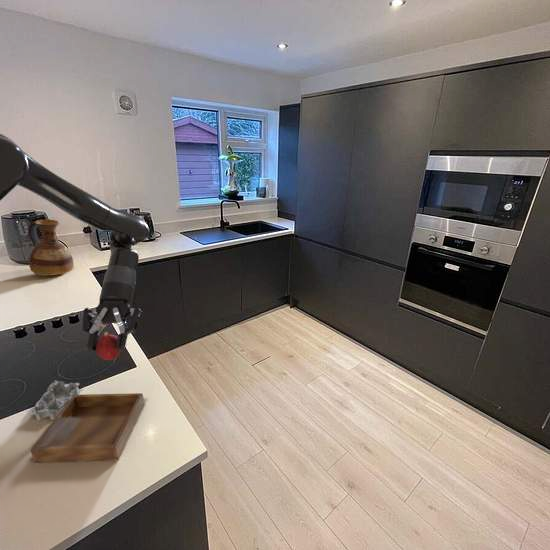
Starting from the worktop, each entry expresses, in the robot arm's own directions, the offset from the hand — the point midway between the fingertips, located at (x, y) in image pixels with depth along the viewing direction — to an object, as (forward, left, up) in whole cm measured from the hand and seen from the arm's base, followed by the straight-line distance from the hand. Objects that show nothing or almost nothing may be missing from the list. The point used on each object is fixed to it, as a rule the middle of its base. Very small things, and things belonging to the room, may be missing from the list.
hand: (105, 349), depth 70 cm
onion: (0, +2, -4) cm, 5 cm away
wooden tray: (-2, -7, -18) cm, 20 cm away
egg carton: (-16, +1, -18) cm, 24 cm away
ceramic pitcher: (-78, +98, -18) cm, 126 cm away
